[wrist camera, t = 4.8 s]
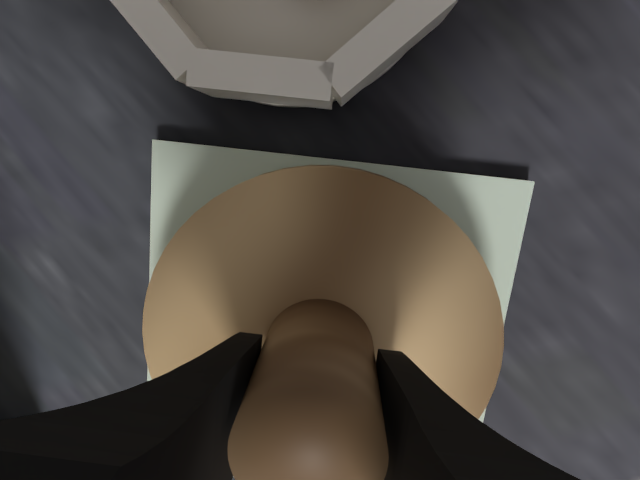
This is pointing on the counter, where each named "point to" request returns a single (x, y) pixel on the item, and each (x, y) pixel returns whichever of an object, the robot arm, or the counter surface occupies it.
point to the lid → (324, 312)
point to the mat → (437, 186)
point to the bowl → (282, 44)
